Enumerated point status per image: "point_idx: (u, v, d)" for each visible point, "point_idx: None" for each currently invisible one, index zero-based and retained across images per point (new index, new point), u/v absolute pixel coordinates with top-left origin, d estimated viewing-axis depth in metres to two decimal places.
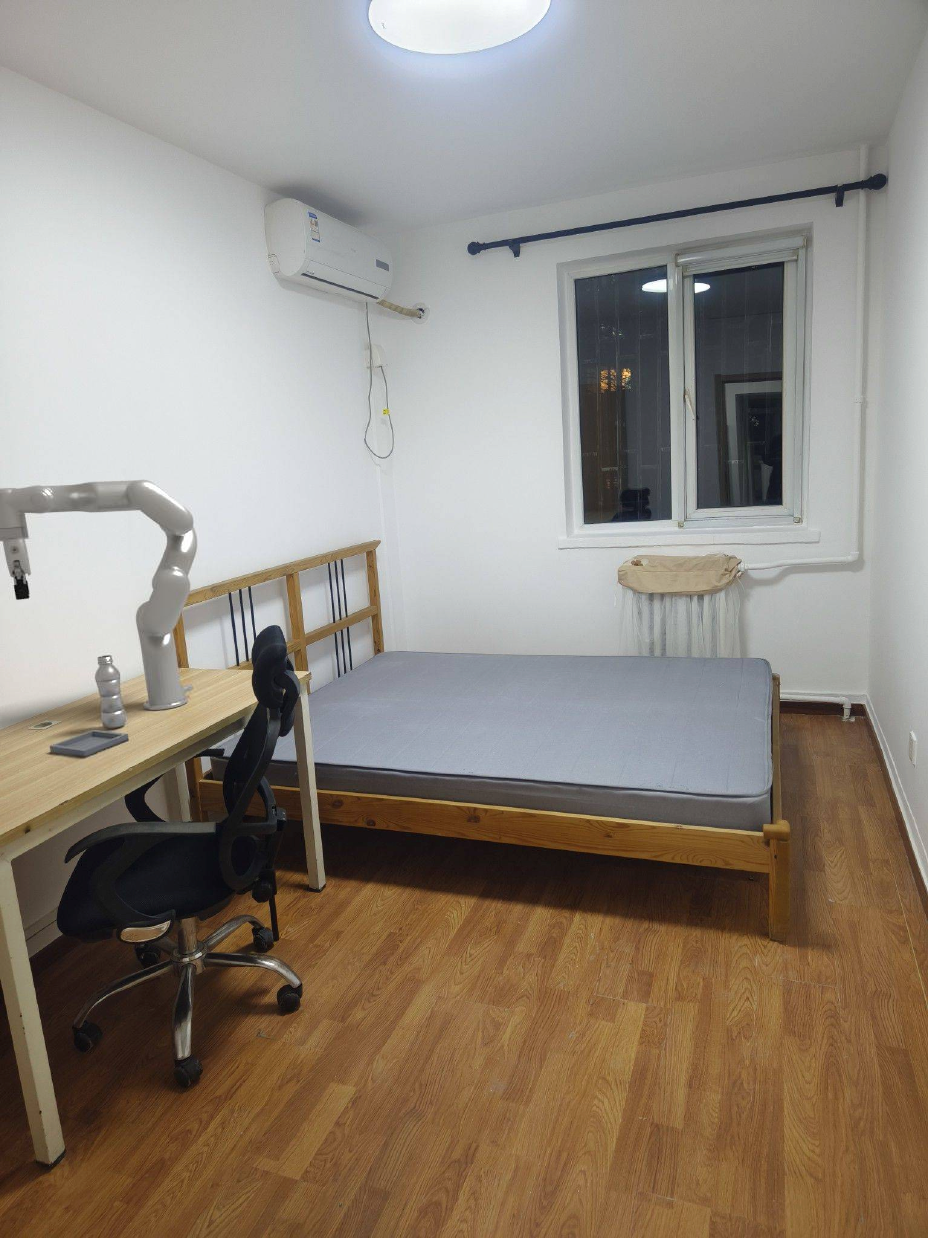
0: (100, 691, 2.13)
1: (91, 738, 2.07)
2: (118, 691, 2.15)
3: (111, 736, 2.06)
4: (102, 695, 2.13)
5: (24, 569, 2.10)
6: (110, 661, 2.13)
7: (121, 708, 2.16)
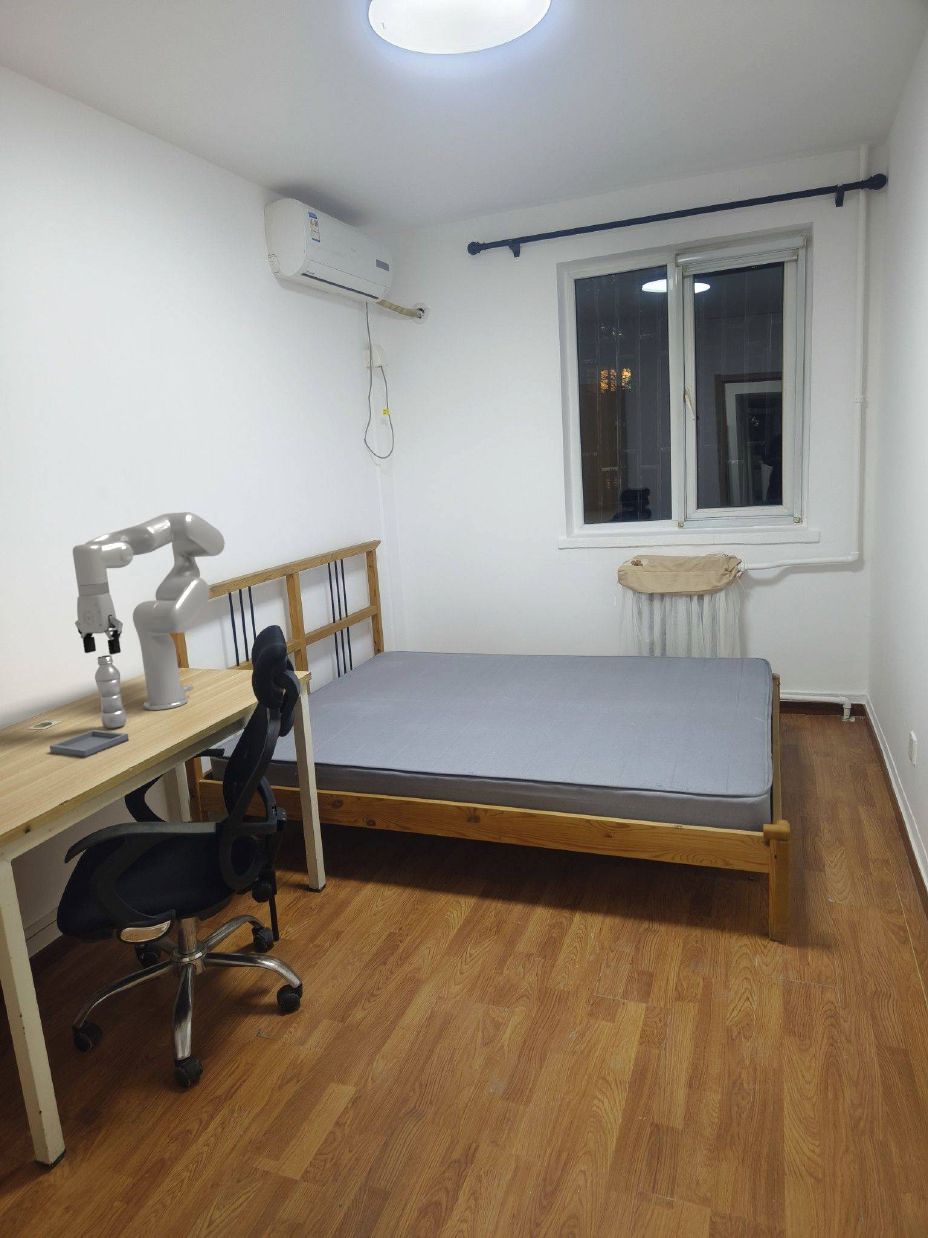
0: (100, 691, 2.13)
1: (91, 738, 2.07)
2: (118, 691, 2.15)
3: (111, 736, 2.06)
4: (102, 695, 2.13)
5: None
6: (110, 661, 2.13)
7: (121, 708, 2.16)
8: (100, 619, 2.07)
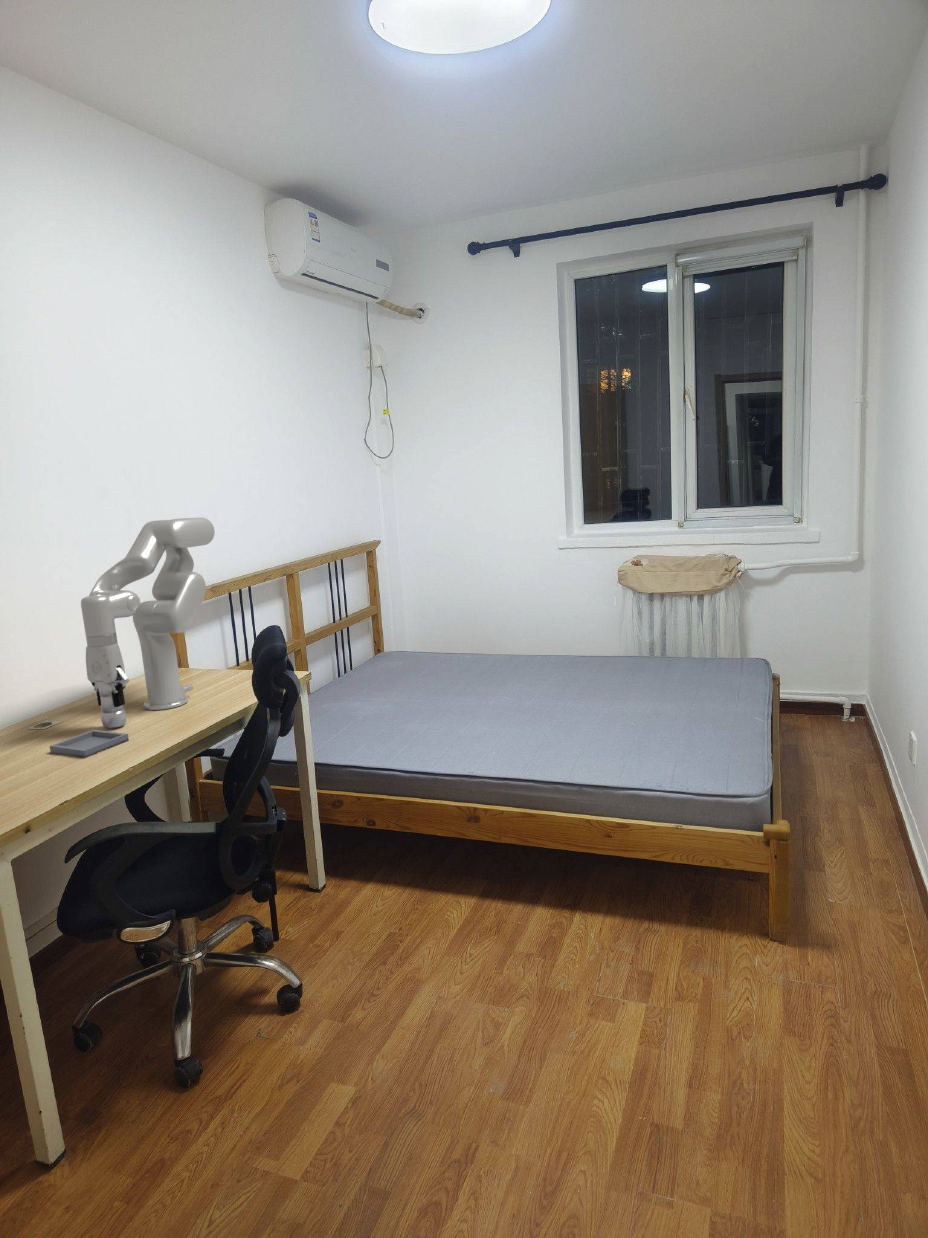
0: (100, 691, 2.13)
1: (91, 738, 2.07)
2: None
3: (111, 736, 2.06)
4: (102, 695, 2.13)
5: None
6: None
7: (121, 708, 2.16)
8: (109, 670, 2.10)
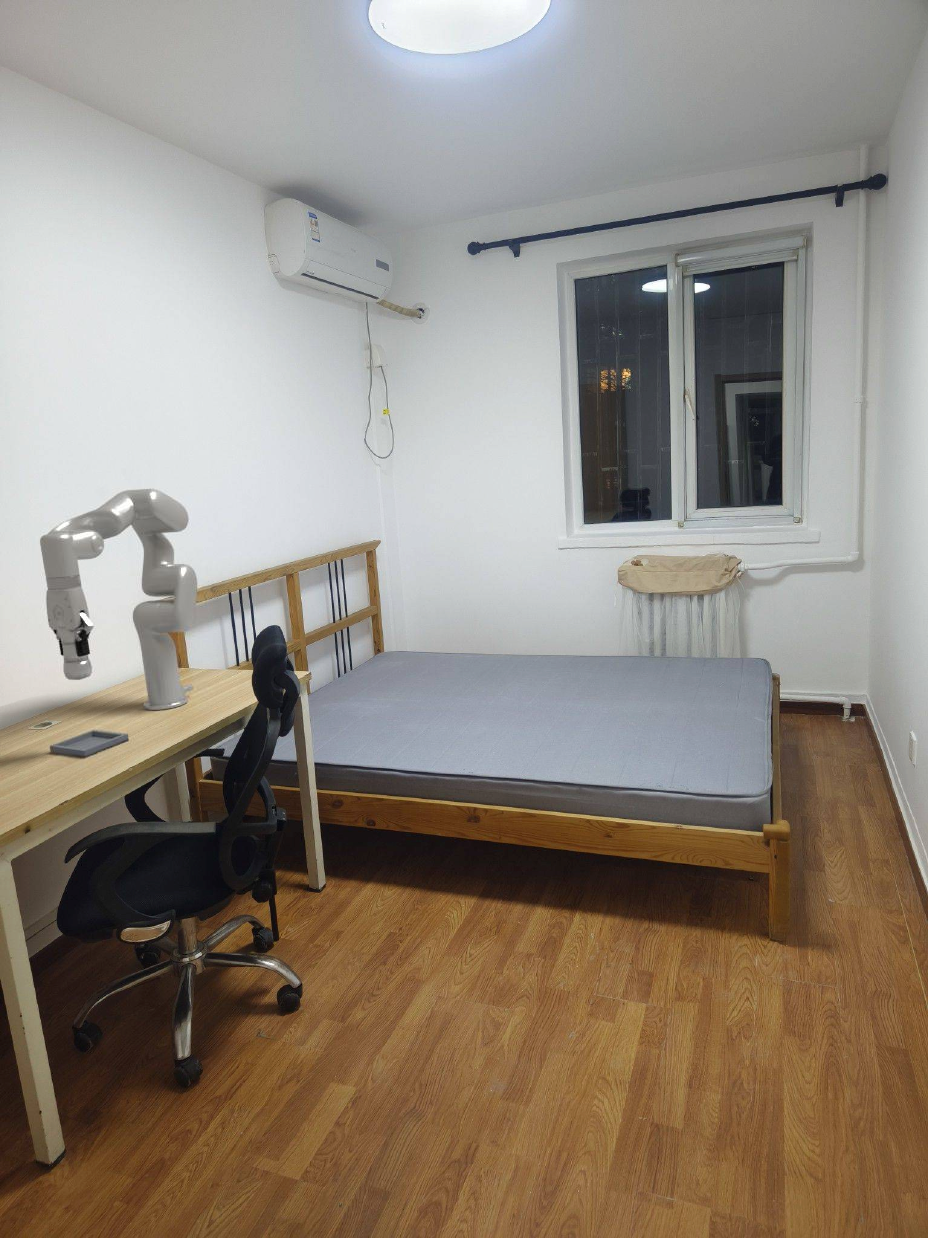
0: (62, 639, 1.94)
1: (91, 738, 2.07)
2: None
3: (111, 736, 2.06)
4: (64, 643, 1.94)
5: None
6: None
7: (85, 658, 1.97)
8: (71, 615, 1.91)
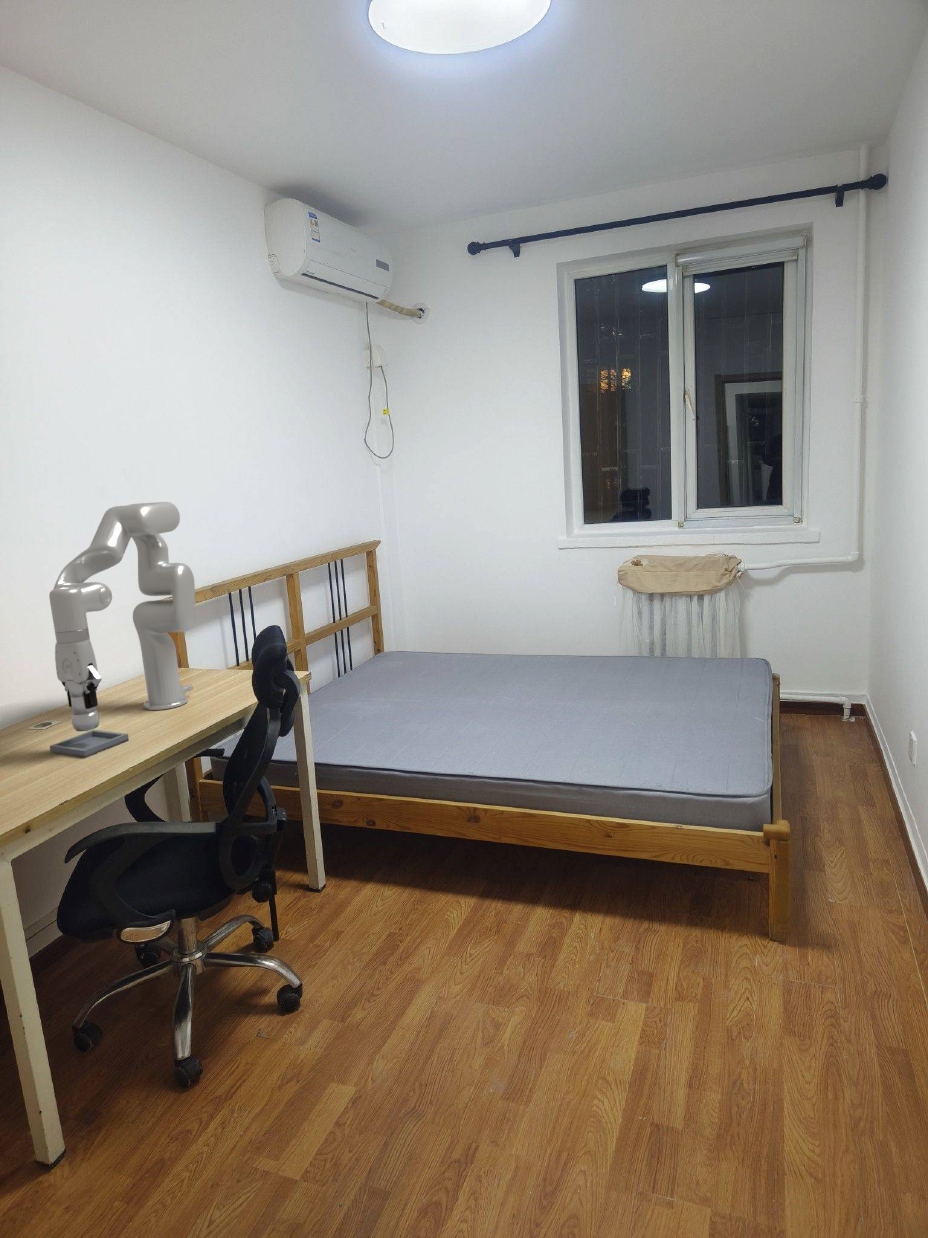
0: (70, 691, 1.97)
1: (91, 738, 2.07)
2: None
3: (111, 736, 2.06)
4: (72, 695, 1.97)
5: None
6: None
7: (93, 710, 1.99)
8: (79, 668, 1.94)
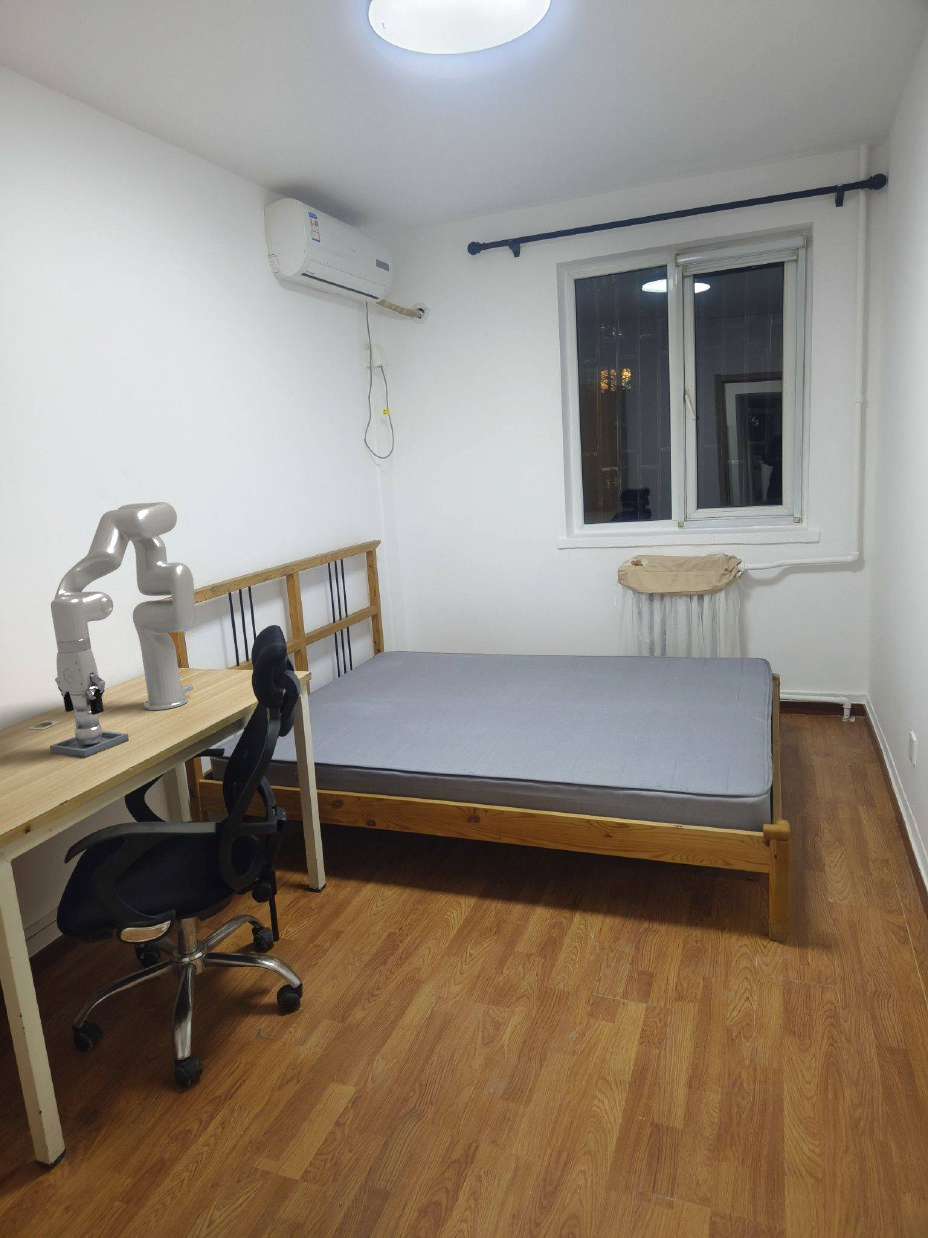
0: (74, 705, 1.98)
1: None
2: None
3: (111, 736, 2.06)
4: (76, 710, 1.98)
5: None
6: None
7: (96, 724, 2.01)
8: (81, 678, 1.94)
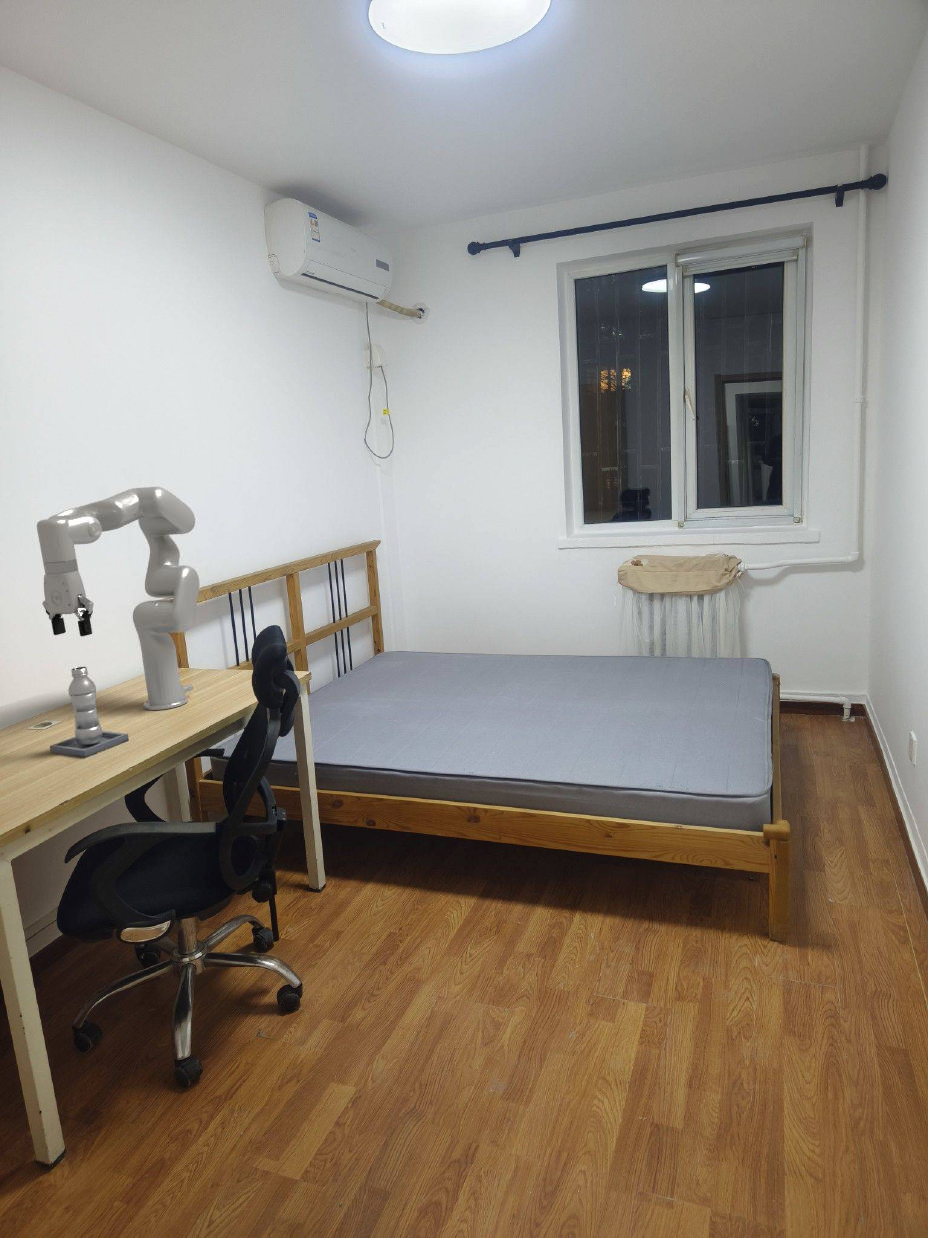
0: (73, 705, 1.98)
1: None
2: (93, 706, 2.00)
3: (111, 736, 2.06)
4: (75, 710, 1.98)
5: None
6: (85, 673, 1.98)
7: (96, 724, 2.01)
8: (69, 599, 1.94)
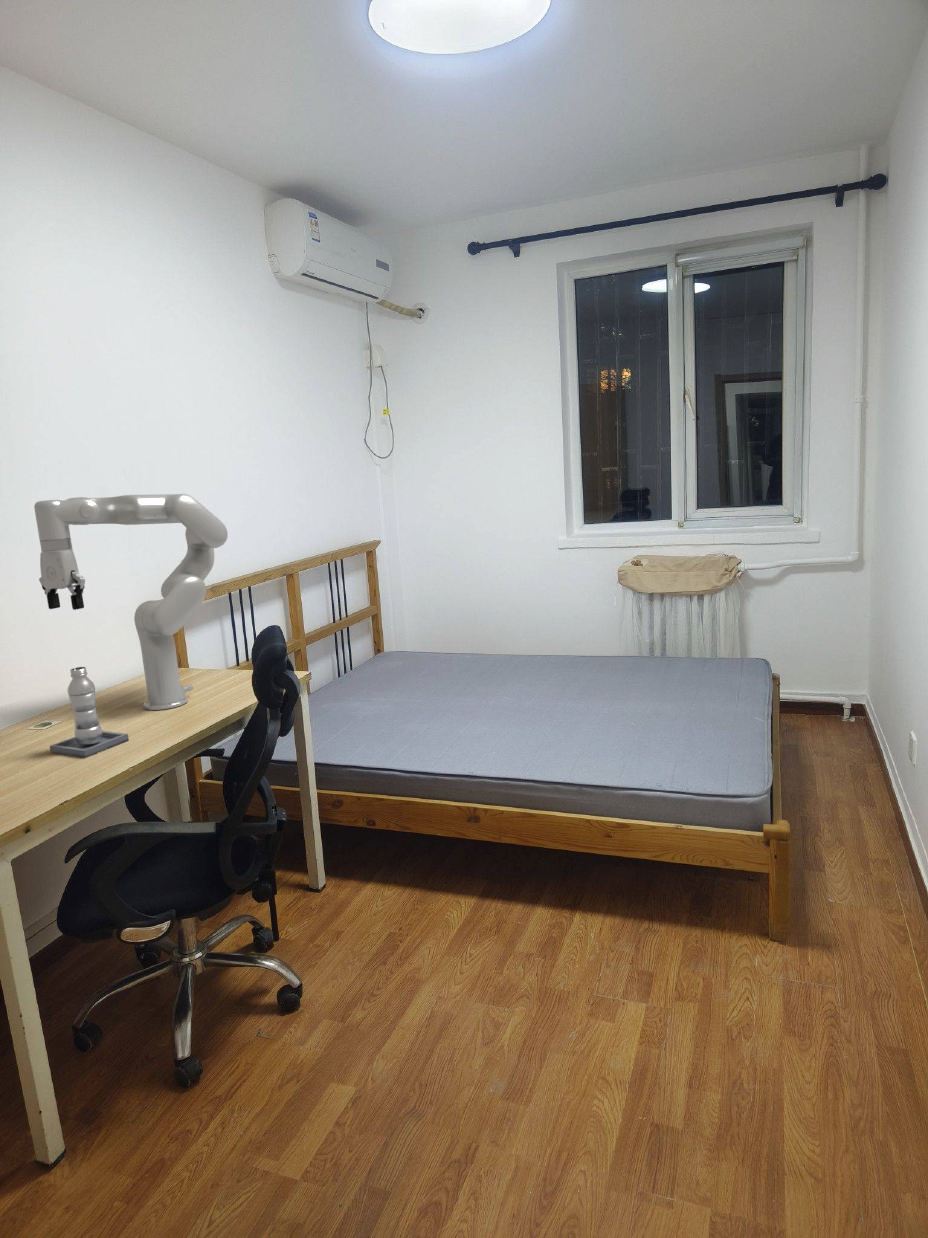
0: (73, 706, 1.98)
1: None
2: (92, 706, 2.00)
3: (111, 736, 2.06)
4: (75, 710, 1.98)
5: None
6: (84, 673, 1.98)
7: (96, 724, 2.01)
8: (62, 574, 2.09)
